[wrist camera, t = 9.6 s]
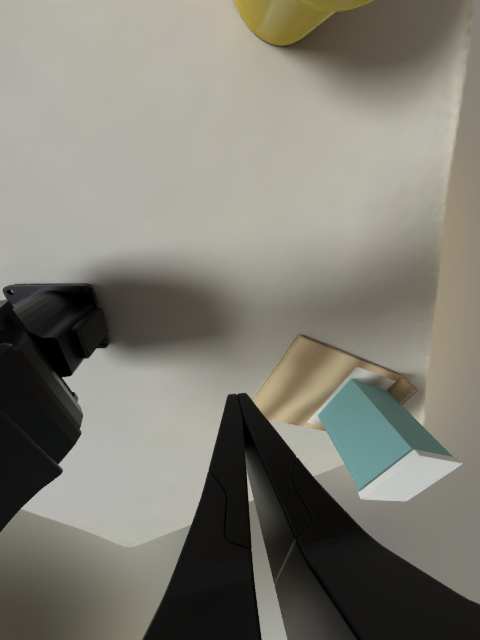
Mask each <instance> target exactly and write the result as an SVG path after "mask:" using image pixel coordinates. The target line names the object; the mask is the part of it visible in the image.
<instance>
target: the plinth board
mask: <svg viewBox="0 0 480 640" xmlns="http://www.w3.org/2000/svg"><path fill="white" fill-rule="evenodd" d="M350 379H354V380H357V381H360V382H363V383H366V384H369V385H372V386H375V387H378V388H381V389H384V390H387V391H388V392H389V393H390V394H391V395H392V396H393V397H394V398H395V399H396V400H397V401H398V402H399V403H400V404H401V405H402V404H403V403H405V402H406V401H407V400H408V399H409V398H410V397H411V396H412V395H413V394H415V393H416V392H417V391H418V389H417V388H415V387H414V386H413V385H412V384H411V383H410V382H408V381H407V380H406V379H405V378H404V377H403V376H401V375H400V374H397V373H395V372H392V371H390V370H387V369H384V368H382V367H379V366H377V365H374V364H372V363H369V362H367V361H364V360H362V359H359V358H357V357H354V356H352V355H349V354H347V353H344V352H342V351H339V350H337V349H334V348H332V347H329V346H327V345H324V344H321V343H319V342H316V341H314V340H311V339H309V338H306V337H304V336H301V335H299V336H298V337H297V339H296V340H295V342H294V343H293V345H292V346H291V347H290V349H289V350H288V352H287V353H286V354H285V356H284V357H283V359H282V360H281V361H280V363H279V364H278V366H277V367H276V368H275V370H274V371H273V373H272V374H271V376H270V377H269V378H268V380H267V381H266V383H265V384H264V385H263V387H262V388H261V390H260V391H259V392H258V394H257V395H256V397H255V398H254V399H253V402H254V403H255V405H256V406H257V407H258V408H259V410H260V411H261V412H262V413H263V415H264V416H265V417H266V418H267V419H268V420H273V421H278V422H283V423H288V424H293V425H298V426H303V427H308V428H313V429H318V430H323V431H326V430H325V428H324V426H323V424H322V422H321V421H320V419H319V417H318V414H319V413H320V412H321V411H322V410H323V409H324V407H325V406H326V405H327V404H328V403H329V402H330V401H331V400H332V399H333V398H334V396H335V395H336V394H337V393H338V392H339V391H340V390H341V389H342V388H343V387H344V385H345V384H346V383H347V382H348V381H349V380H350Z"/></svg>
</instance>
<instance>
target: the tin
mask: <svg viewBox="0 0 480 640" xmlns="http://www.w3.org/2000/svg"><path fill="white" fill-rule="evenodd" d="M318 417H319V419H320V421H321V422H322V424H323V426H324V428H325V430H326V431H327V433H328V435H329V437H330V439H331V440H332V442H333V444H334V446H335V448H336V449H337V451H338V453H339V455H340V457H341V458H342V460H343V462H344V464H345V466H346V467H347V469H348V471H349V473H350V475H351V476H352V478H353V480H354V482H355V484H356V485H357V487H358V489H359V491H360V492H358V494H359V496H360V498H361V499H368V500H390V501H407V500H409V499H410V498H412V497H414V496H415V495H416V494H418V493H420V492H421V491H423V490H424V489H425V488H427V487H429V486H430V485H432V484H433V483H435V482H436V481H438V480H439V479H441V478H442V477H443V476H445V475H446V474H448V473H449V472H451V471H453V470H454V469H456V468H457V467H458V466H460V465H461V464H462V462H461V461H460V460H459V459H458V458H456V457H453V456H452V455H451V454H450V453H449V452H448V451H447V450H446V449H445V448H444V447H442V445H441V444H440V443H439V442H438V441H437V440H436V439H434V437H433V436H432V435H431V434H430V433H429V432H428V431H427V430H426V429H425V428H424V427H423V426H422V425H421V424H420V423H419V422H418V421H417V420H416V419H415V418H414V417H413V416H412V415H411V414H410V413H409V412H408V411H407V410H406V409H405V408H404V407H403V406H402V405H401V404H400V403H399V402H398V401H397V400H396V399H395V398H394V397H393V396H392V395H391V394H390V393H389V392H388V391H387V390H384V389H381V388H378V387H375V386H372V385H369V384H366V383H363V382H360V381H357V380H354V379H350V380H349V381H348V382H347V383H346V384H345V385H344V387H343V388H342V389H341V390H340V391H339V392H338V393H337V394H336V395H335V396H334V398H333V399H332V400H331V401H330V402H329V403H328V404H327V405H326V406H325V407H324V409H323V410H322V411H321V412H320V413H319V414H318Z"/></svg>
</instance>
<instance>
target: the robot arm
mask: <svg viewBox="0 0 480 640" xmlns="http://www.w3.org/2000/svg"><path fill="white" fill-rule="evenodd" d="M84 288H86V289H87V290H88V291H89V292H86V291H85V290H84ZM11 290H12V291H13V292H14V293H12V292H11ZM3 293H4V295H5V297H6V299H7V300H2V301H0V532H1V531H2V530H3V528H4V527H5V526H6V525H7V523H8V522H9V521H10V520H11V519H12V517H14V515H15V514H16V513H17V512H18V511H19V510H20V509H21V508H22V507H23V506H24V505H25V504H26V503H27V502H28V501H29V500H30V499H31V498H32V497H33V496H34V495H35V494H36V493H37V492H39V491H40V490H41V489H42V488H43V487H45V486H46V485H47V484H49V483H50V482H51V481H53V480H54V479H55V478H57V477H58V476H59V475H61V473H62V472H63V469H62V468H61V467H60V466H59V465H58V464H59V463H60V462H61V461H62V460H63V458H64V457H65V456H66V455H67V454H68V452H69V451H70V450H71V449H72V448H73V446H74V445H75V444H76V442H77V440H78V439H79V437H80V435H81V430H80V427H81V423H82V418H83V413H82V410H81V407H80V406H79V404H78V403H77V401H78V397H77V395H76V394H75V393H74V392H72V391H71V390H70V388H69V387H68V386H67V384H66V383H65V381H64V380H63V379H62V377H68V376H71V375H72V374H73V373H74V371H75V370H76V369H77V367H78V366H79V365H80V363H81V362H82V361H83V359H86V358H89V357H90V356H91V355H92V353H93V352H94V351H95V349H96V348H106V347H107V346H108V345H109V343H110V341H109V337H108V334H107V332H108V327H107V324H106V321H105V318H104V314H103V311H102V308H100V307H99V305H98V302H97V299H96V295H95V292H94V289H93V287H92V286H91V285H88V284H46V285H9V286H6V287H4V288H3ZM102 342H105V344H104V343H102ZM246 468H247V472H246ZM247 473H248V477H249V481H250V485H251V489H252V493H253V498H254V502H255V506H256V510H257V514H258V518H259V523H260V527H261V530H262V535H263V539H264V543H265V547H266V552H267V556H268V560H269V564H270V568H271V572H272V577H273V581H274V584H275V589H276V593H277V598H278V602H279V606H280V610H281V614H282V618H283V622H284V626H285V630H286V635H287V639H288V640H480V604H478V603H475V602H473V601H471V600H469V599H467V598H465V597H463V596H461V595H460V594H458V593H456V592H455V591H453V590H452V589H450V588H448V587H447V586H445V585H444V584H442V583H441V582H439V581H437V580H436V579H434V578H433V577H431V576H429V575H428V574H426V573H425V572H423V571H421V570H420V569H418V568H417V567H415V566H414V565H412V564H410V563H409V562H407V561H406V560H404V559H403V558H401V557H399V556H398V555H396V554H395V553H393V552H391V551H390V550H388V549H387V548H385V547H384V546H382V545H381V544H379V543H378V542H377V541H376V540H374V539H373V538H372V537H371V536H370V535H369V534H367V533H366V532H365V531H364V530H363V529H362V528H361V527H360V526H359V525H358V524H357V523H356V522H355V521H354V520H353V519H352V518H351V516H350V515H349V514H348V513H347V512H346V511H345V510H344V509H343V508H342V507H341V506H340V505H339V504H338V503H337V502H336V501H335V500H334V499H333V498H332V497H331V496H330V494H329V493H328V492H327V491H326V490H325V489H324V488H323V487H322V486H321V485H320V484H319V483H318V482H317V480H315V478H314V477H313V476H312V475H311V473H310V472H309V471H308V470H307V469H306V467H305V466H304V465H303V464H302V462H301V461H300V460H299V459H298V458H296V455H295V454H294V453H293V451H292V450H291V449H290V447H289V446H288V445H287V444H286V442H285V441H284V440H283V439H282V437H281V436H280V435H279V434H278V432H277V431H276V430H275V429H274V427H273V426H272V425H271V424H270V422H269V421H268V420H267V418H266V417H265V416H264V415H263V413H262V412H261V411H260V410H259V408H258V407H257V406H256V405H255V403H254V402H253V401H252V400H251V398H250V397H249V396H248V395H247V394H246V393H239V394H229V395H228V396H227V400H226V404H225V408H224V412H223V416H222V420H221V424H220V427H219V431H218V435H217V439H216V443H215V447H214V451H213V455H212V459H211V462H210V466H209V472H208V474H207V478H206V481H205V485H204V489H203V492H202V496H201V499H200V502H199V505H198V508H197V511H196V513H195V516H194V519H193V522H192V525H191V527H190V530H189V533H188V535H187V538H186V541H185V543H184V546H183V548H182V551H181V554H180V556H179V559H178V562H177V564H176V567H175V570H174V572H173V575H172V577H171V580H170V582H169V585H168V587H167V589H166V592H165V594H164V596H163V599H162V600H161V603H160V605H159V607H158V609H157V611H156V613H155V615H154V617H153V619H152V621H151V623H150V625H149V627H148V629H147V631H146V633H145V635H144V637H143V639H142V640H262V639H261V632H260V623H259V616H258V607H257V600H256V592H255V583H254V573H253V563H252V551H251V533H250V518H249V504H248V503H249V502H248V487H247Z"/></svg>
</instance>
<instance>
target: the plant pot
mask: <svg viewBox="0 0 480 640" xmlns="http://www.w3.org/2000/svg"><path fill="white" fill-rule="evenodd" d="M372 1H374V0H234V2H235V5H236V8H237V9H238V11H239V13H240V15H241V17H242V19H243V20H244V22H245V23H246V25H247V26H248V27H249V28H250V30H251V31H252V32H253V33H255V34H256V35H257V36H258V37H259V38H261V39H262V40H264V41H266V42H268V43H270V44H273V45H281V46H283V45H289V44H293V43H295V42H297V41H299V40H300V39H302V38H303V37H305V36H306V35H307V34H309V33H310V32H311V31H312V30H314V29H315V28H316V27H317V26H319V25H320V24H321V23H322V22H324V21H325V20H326V19H328V18H329V17H330V16H331V15H333V14H334V13H335V12H342V11H347V10H351V9H355V8H358V7H361V6H364V5H366V4H368V3H370V2H372Z"/></svg>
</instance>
